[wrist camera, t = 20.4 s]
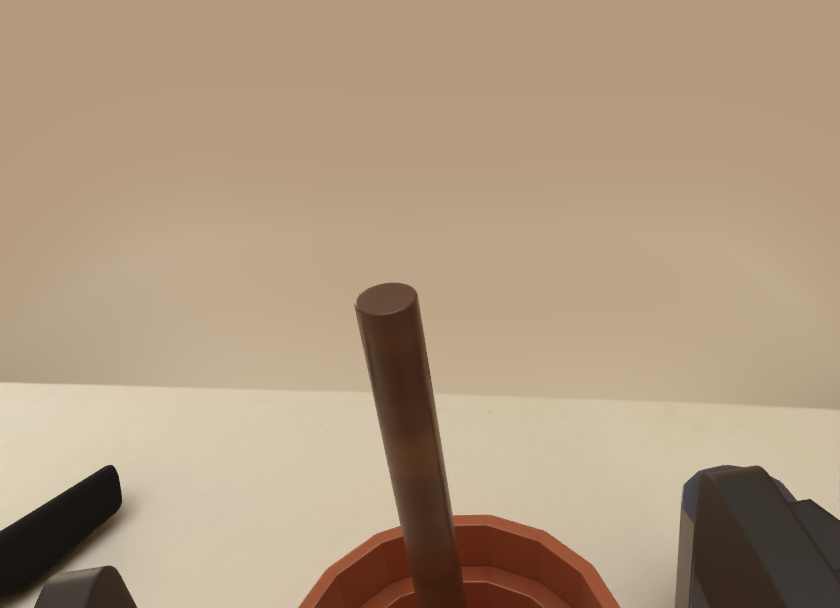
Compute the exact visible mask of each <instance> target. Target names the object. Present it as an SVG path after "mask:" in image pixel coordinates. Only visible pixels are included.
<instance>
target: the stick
mask: <svg viewBox="0 0 840 608" xmlns="http://www.w3.org/2000/svg"><path fill="white" fill-rule="evenodd" d="M355 311H356V315H357V320H358V325H359V330H360V334H361V339H362V344H363V349H364V353H365V358H366V363H367V368H368V372H369V377H370V381H371V386H372V391H373V396H374V401H375V406H376V410H377V415H378V420H379V425H380V430H381V434H382V439H383V444H384V449H385V453H386V458H387V463H388V468H389V472H390V477H391V482H392V487H393V491H394V496H395V501H396V506H397V510H398V515H399V520H400V525H401V529H402V534H403V539H404V544H405V548H406V553H407V558H408V563H409V567H410V572H411V577H412V582H413V586H414V591H415V596H416V601H417V605H418V608H467V603H466V597H465V590H464V584H463V578H462V571H461V565H460V559H459V552H458V546H457V540H456V533H455V527H454V521H453V515H452V508H451V502H450V496H449V489H448V483H447V477H446V470H445V464H444V458H443V451H442V445H441V439H440V433H439V426H438V420H437V414H436V407H435V401H434V395H433V389H432V382H431V376H430V369H429V363H428V357H427V351H426V344H425V338H424V332H423V325H422V319H421V313H420V306H419V300H418V294H417V292H416V291H415V289H414V288H412V287H411V286H409V285H406V284H402V283H385V284H380V285H377V286H374V287H371V288H368V289H367V290H365V291H363V292H362V293H361V294H360V295H359V296H358V297H357V298H356V300H355Z"/></svg>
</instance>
